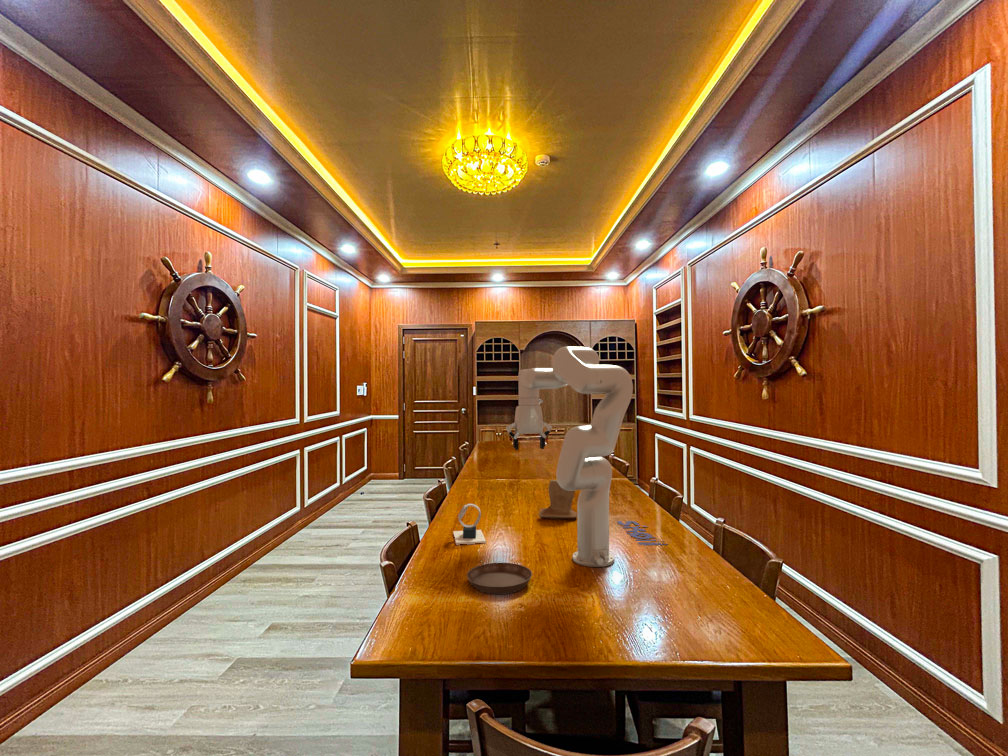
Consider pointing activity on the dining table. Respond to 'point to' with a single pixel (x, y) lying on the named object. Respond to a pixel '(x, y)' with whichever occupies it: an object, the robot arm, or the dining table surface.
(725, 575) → the dining table surface
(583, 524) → the robot arm
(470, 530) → the watch
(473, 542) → the pad
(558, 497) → the brown boot
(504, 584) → the plant saucer
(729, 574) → the dining table surface
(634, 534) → the signage
